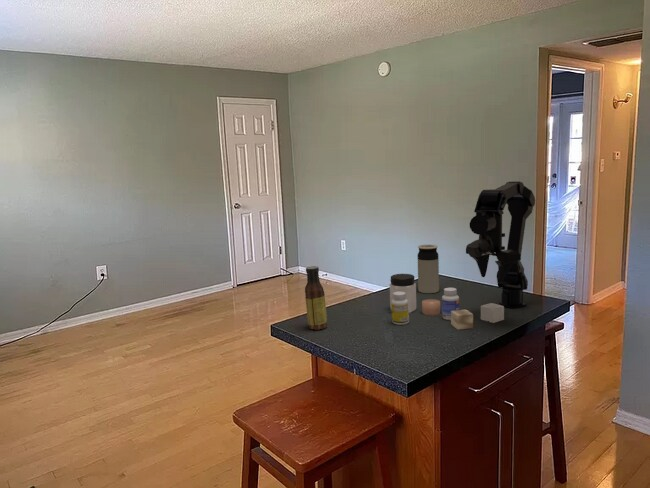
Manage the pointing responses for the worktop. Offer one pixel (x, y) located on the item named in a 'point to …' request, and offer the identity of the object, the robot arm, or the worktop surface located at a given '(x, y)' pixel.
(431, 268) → the travel mug
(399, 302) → the supplement bottle
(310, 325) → the sauce bottle
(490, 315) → the grey block
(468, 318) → the birch block
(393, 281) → the jar
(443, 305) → the pill bottle
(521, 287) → the robot arm
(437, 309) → the tan rounded cylinder
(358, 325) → the worktop surface
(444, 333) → the worktop surface
